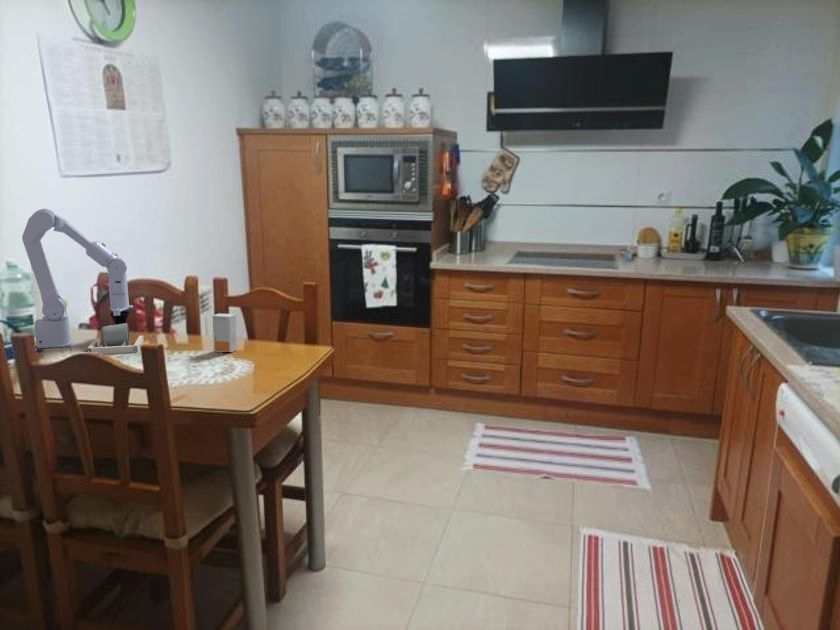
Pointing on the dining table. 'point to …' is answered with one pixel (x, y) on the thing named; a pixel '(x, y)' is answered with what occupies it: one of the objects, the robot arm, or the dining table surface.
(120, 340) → the ceramic mug
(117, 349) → the holder
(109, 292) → the robot arm
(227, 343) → the skincare box
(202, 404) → the dining table surface
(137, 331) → the dining table surface
